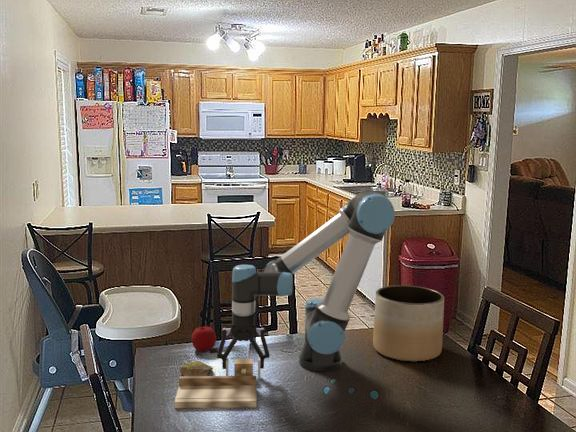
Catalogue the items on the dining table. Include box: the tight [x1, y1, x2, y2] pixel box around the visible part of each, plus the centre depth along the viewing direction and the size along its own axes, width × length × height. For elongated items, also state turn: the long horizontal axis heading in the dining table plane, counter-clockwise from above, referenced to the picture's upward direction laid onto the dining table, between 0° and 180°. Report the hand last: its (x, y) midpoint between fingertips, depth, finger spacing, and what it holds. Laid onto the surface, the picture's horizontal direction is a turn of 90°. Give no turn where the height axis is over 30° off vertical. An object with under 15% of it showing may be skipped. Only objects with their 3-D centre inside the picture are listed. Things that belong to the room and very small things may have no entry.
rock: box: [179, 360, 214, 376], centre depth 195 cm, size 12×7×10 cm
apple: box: [191, 324, 217, 353], centre depth 214 cm, size 9×9×10 cm
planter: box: [372, 284, 445, 363], centre depth 216 cm, size 25×25×22 cm
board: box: [174, 375, 257, 409], centre depth 176 cm, size 24×12×4 cm, turn 94°
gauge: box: [233, 358, 254, 376], centre depth 188 cm, size 6×8×6 cm
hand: (243, 377), depth 191 cm, fingers open, 10 cm apart
